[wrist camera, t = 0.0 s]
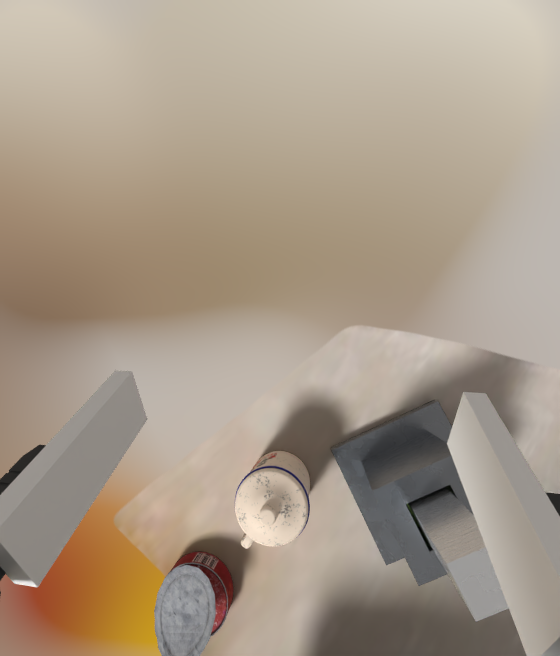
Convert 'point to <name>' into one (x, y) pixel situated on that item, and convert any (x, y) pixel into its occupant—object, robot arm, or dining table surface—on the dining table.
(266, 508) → the teacup with lid
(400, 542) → the stand
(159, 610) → the canned food
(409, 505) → the post
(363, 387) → the dining table surface
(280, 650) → the dining table surface
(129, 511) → the dining table surface
